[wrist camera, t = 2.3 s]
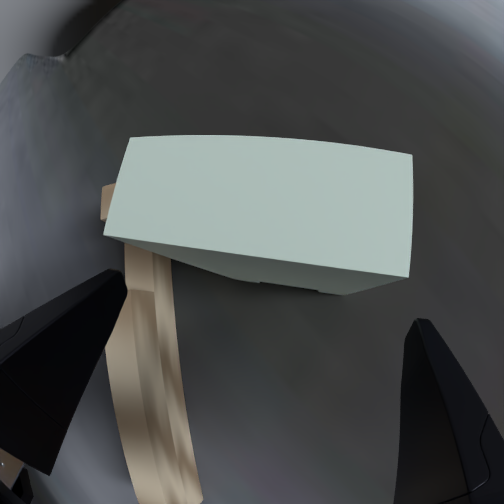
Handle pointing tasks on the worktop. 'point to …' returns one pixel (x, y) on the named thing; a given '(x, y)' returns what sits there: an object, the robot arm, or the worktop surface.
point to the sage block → (269, 209)
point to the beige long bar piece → (150, 381)
